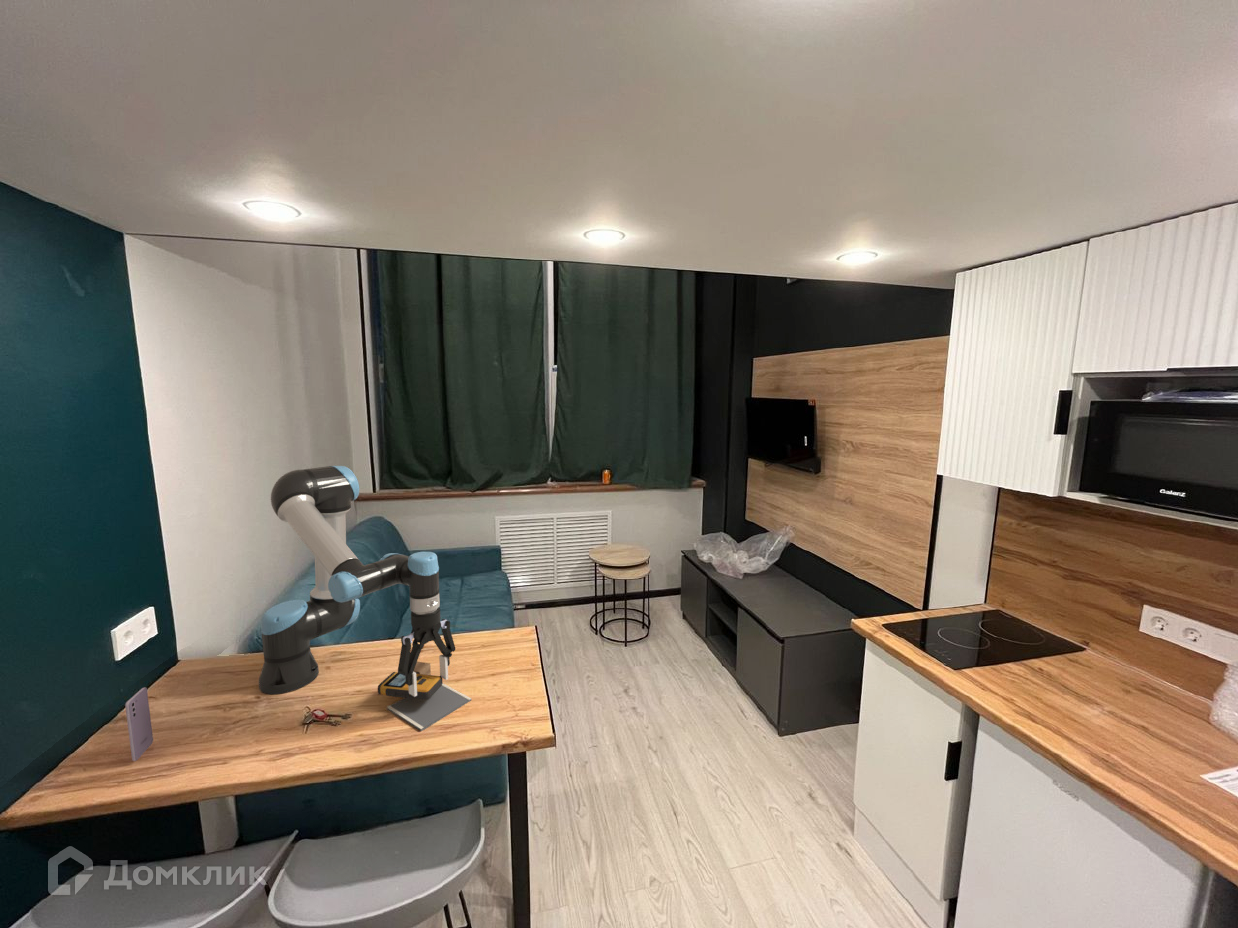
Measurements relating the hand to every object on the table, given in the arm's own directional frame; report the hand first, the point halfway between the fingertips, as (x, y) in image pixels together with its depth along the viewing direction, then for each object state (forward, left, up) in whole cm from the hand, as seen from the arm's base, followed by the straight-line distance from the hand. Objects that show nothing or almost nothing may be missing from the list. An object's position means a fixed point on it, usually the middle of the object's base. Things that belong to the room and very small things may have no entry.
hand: (429, 685), depth 137 cm
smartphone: (-40, -51, -6) cm, 65 cm away
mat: (0, 0, -6) cm, 6 cm away
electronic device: (+1, +1, -4) cm, 4 cm away
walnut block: (-13, +5, -6) cm, 15 cm away
